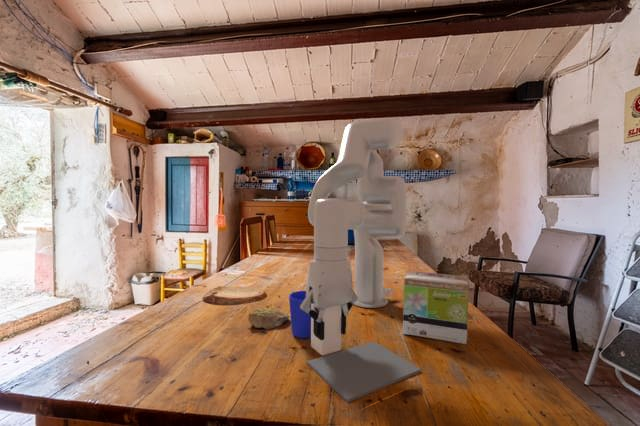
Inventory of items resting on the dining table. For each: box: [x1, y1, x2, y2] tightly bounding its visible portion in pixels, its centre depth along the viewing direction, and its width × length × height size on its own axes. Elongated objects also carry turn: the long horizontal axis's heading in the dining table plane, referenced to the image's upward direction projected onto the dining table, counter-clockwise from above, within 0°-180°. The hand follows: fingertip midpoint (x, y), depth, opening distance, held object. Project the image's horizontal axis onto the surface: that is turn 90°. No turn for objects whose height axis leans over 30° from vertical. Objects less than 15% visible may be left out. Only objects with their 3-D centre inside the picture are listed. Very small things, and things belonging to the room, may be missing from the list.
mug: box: [288, 290, 311, 339], centre depth 77 cm, size 8×12×10 cm
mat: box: [306, 340, 422, 403], centre depth 60 cm, size 18×14×1 cm
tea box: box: [402, 270, 470, 345], centre depth 77 cm, size 15×10×15 cm, turn 70°
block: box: [310, 304, 342, 357], centre depth 68 cm, size 5×5×12 cm
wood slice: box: [202, 285, 268, 305], centre depth 105 cm, size 18×18×4 cm
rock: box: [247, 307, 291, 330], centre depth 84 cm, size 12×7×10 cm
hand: (330, 334), depth 67 cm, fingers closed on block, 5 cm apart
